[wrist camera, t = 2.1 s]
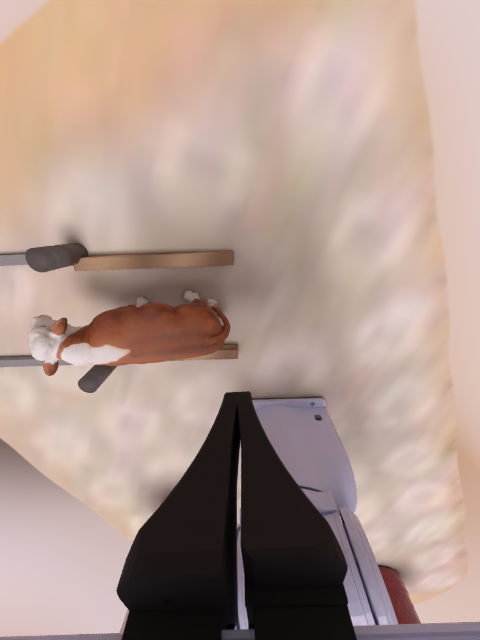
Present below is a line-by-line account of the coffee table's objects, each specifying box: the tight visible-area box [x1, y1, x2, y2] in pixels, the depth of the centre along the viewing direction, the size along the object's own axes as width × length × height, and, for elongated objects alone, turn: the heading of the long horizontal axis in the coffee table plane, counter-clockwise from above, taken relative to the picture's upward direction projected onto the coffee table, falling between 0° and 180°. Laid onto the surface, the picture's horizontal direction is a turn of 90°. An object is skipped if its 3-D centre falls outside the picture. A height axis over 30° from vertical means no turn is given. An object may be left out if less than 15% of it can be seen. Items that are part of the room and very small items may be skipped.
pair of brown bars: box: [25, 243, 238, 393], centre depth 19 cm, size 14×12×4 cm
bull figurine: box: [28, 290, 230, 376], centre depth 17 cm, size 4×13×8 cm, turn 90°
